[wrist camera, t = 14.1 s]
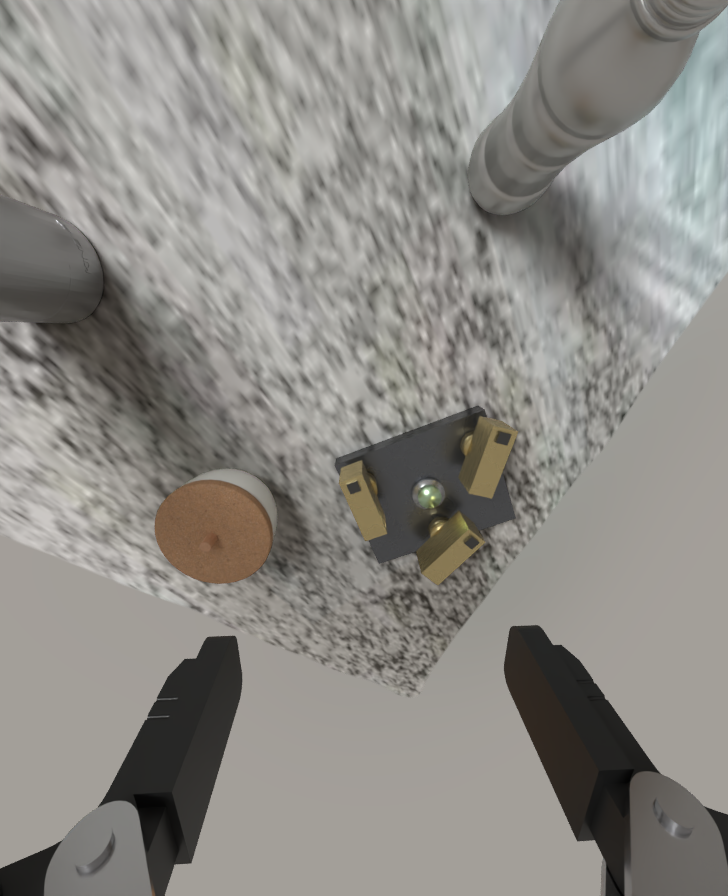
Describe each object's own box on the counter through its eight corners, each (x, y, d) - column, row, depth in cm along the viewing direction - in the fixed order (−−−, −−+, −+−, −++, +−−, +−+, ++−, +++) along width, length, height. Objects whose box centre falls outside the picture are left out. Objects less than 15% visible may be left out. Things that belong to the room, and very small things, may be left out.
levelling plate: (378, 553, 42) (379, 571, 39) (336, 458, 38) (334, 469, 35) (508, 509, 40) (520, 524, 37) (478, 405, 36) (489, 412, 33)
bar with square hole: (429, 553, 40) (440, 589, 34) (411, 540, 39) (419, 573, 34) (470, 515, 38) (488, 545, 33) (452, 500, 37) (467, 529, 32)
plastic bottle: (511, 236, 32) (735, 96, 13) (446, 198, 31) (584, -19, 12) (553, 159, 30) (890, -142, 11) (486, 115, 29) (726, -302, 10)
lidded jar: (215, 549, 42) (176, 608, 33) (176, 468, 39) (120, 510, 30) (300, 527, 41) (283, 581, 32) (267, 442, 38) (238, 477, 29)
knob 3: (476, 475, 37) (496, 500, 31) (450, 469, 36) (466, 494, 31) (497, 417, 35) (523, 433, 29) (470, 410, 34) (491, 425, 29)
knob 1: (386, 505, 38) (390, 534, 32) (362, 513, 38) (362, 544, 32) (364, 452, 36) (365, 474, 30) (339, 462, 36) (335, 485, 31)
